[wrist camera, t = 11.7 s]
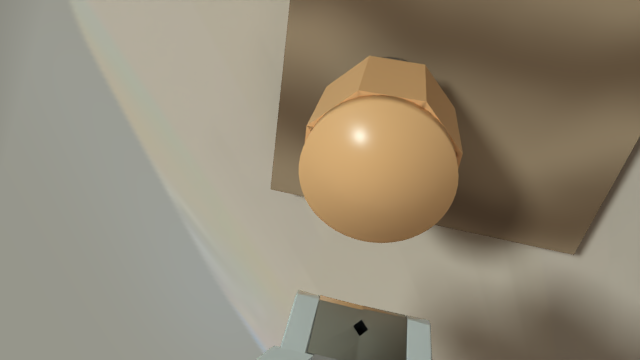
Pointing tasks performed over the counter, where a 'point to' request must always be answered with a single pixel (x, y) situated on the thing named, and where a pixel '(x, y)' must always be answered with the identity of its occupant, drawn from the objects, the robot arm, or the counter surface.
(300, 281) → the counter surface
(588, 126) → the board
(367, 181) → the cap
